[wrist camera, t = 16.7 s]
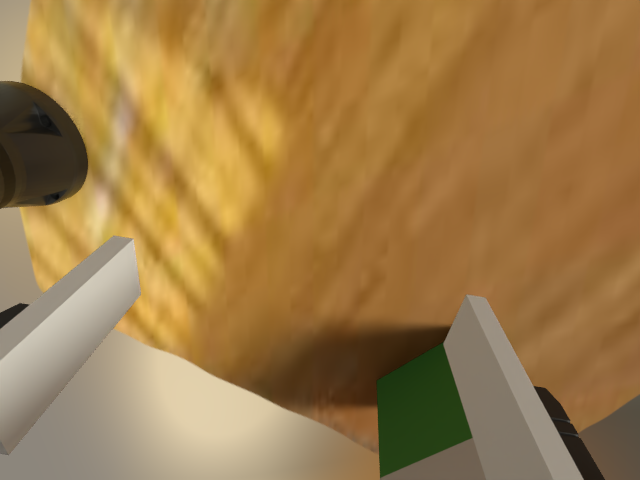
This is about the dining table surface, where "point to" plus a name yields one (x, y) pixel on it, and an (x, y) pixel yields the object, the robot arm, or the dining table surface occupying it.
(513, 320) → the dining table surface
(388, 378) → the green white box
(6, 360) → the robot arm
